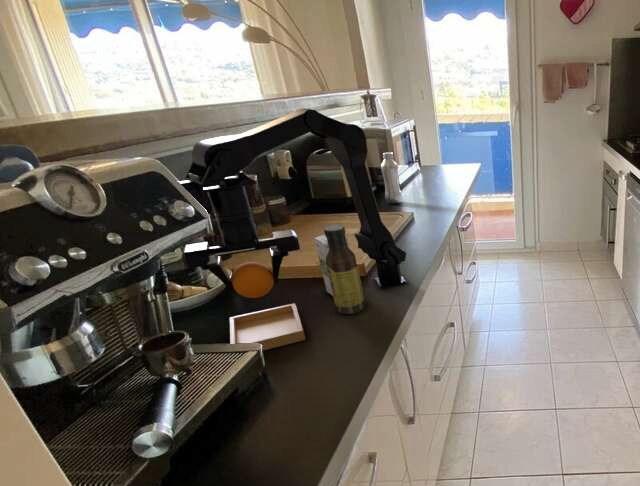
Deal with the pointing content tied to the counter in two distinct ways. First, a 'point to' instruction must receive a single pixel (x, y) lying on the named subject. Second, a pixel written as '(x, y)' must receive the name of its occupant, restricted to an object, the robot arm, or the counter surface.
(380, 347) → the counter surface
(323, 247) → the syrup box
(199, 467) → the counter surface
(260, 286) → the orange
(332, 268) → the sauce bottle
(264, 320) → the tray
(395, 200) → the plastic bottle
